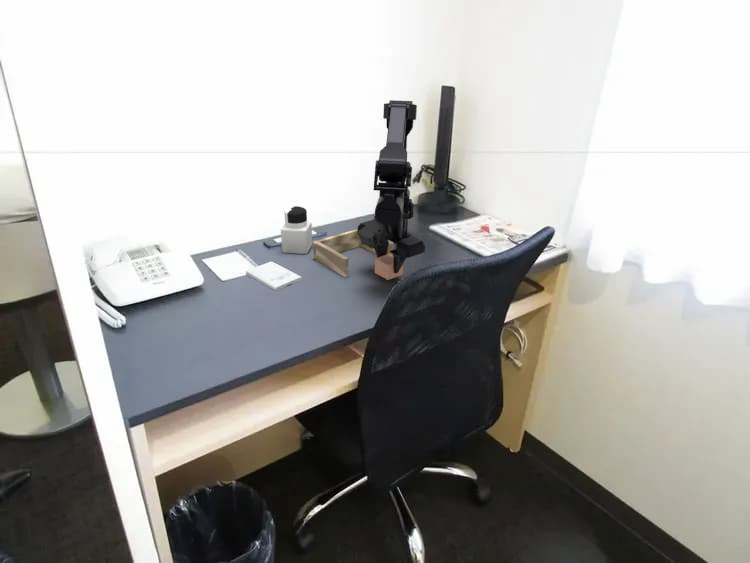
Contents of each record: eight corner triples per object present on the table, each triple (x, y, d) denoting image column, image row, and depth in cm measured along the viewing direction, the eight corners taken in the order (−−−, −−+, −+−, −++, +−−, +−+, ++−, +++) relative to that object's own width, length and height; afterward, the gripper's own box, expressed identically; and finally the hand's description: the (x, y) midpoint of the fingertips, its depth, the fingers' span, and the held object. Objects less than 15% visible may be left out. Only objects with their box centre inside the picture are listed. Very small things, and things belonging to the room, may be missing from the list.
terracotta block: (389, 267, 124) (390, 253, 122) (402, 274, 121) (403, 259, 119) (374, 272, 121) (375, 258, 119) (387, 280, 118) (388, 265, 116)
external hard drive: (272, 266, 128) (302, 281, 121) (246, 276, 123) (275, 293, 115) (272, 260, 127) (302, 276, 120) (245, 270, 122) (275, 287, 114)
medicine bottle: (312, 244, 140) (310, 204, 134) (307, 254, 134) (305, 213, 128) (288, 242, 140) (285, 203, 135) (282, 253, 134) (278, 212, 128)
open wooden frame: (360, 243, 141) (360, 227, 138) (392, 260, 131) (393, 243, 129) (313, 258, 131) (312, 241, 129) (344, 277, 122) (344, 259, 119)
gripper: (339, 206, 115) (340, 265, 122) (392, 229, 102) (389, 293, 109) (375, 197, 121) (374, 253, 128) (428, 218, 109) (424, 279, 116)
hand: (388, 269), depth 120 cm, fingers closed on terracotta block, 5 cm apart
